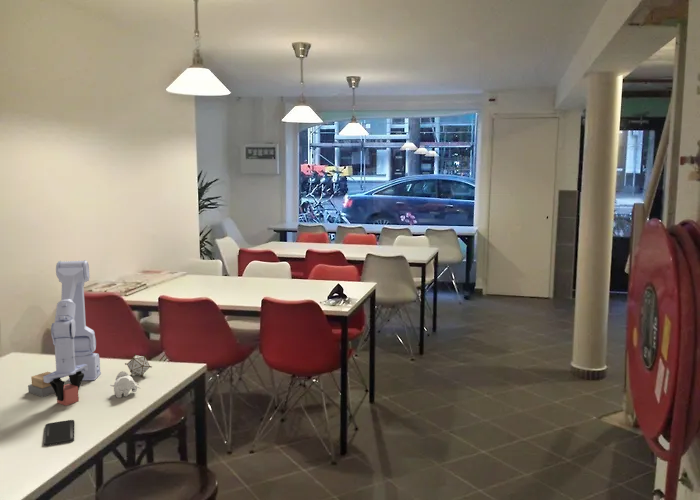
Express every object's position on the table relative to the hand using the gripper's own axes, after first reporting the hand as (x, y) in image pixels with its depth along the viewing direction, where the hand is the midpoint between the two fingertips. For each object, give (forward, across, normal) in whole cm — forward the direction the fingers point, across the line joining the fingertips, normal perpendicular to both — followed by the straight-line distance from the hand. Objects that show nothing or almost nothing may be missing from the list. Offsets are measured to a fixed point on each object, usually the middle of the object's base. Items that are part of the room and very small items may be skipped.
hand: (67, 397), depth 204 cm
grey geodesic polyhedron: (+2, +29, +1) cm, 29 cm away
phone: (+2, -16, -20) cm, 26 cm away
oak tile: (-1, +2, +15) cm, 16 cm away
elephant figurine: (+2, +14, -11) cm, 18 cm away
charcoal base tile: (+2, +2, +15) cm, 16 cm away
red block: (+1, 0, 0) cm, 1 cm away
